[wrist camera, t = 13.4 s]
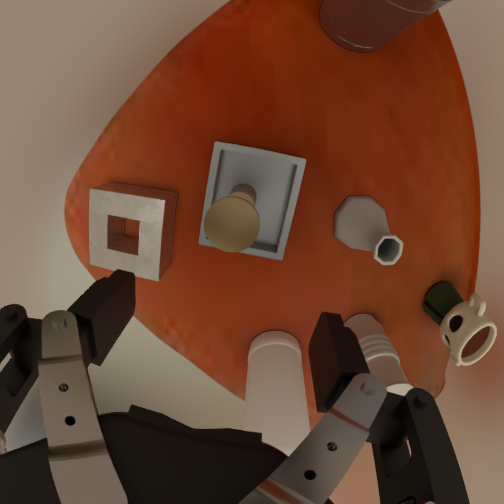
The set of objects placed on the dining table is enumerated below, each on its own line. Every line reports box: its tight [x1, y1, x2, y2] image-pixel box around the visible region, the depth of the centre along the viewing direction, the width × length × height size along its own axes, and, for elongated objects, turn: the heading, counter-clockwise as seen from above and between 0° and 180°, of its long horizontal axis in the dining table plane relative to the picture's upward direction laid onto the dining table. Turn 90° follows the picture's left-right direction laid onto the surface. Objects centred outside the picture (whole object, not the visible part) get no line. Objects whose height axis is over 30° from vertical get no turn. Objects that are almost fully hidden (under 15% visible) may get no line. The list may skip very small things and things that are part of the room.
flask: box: [334, 196, 403, 265], centre depth 30 cm, size 7×7×10 cm
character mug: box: [424, 283, 497, 366], centre depth 32 cm, size 11×7×13 cm, turn 2°
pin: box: [204, 184, 260, 252], centre depth 28 cm, size 4×4×12 cm
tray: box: [198, 141, 306, 261], centre depth 33 cm, size 12×10×3 cm
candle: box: [344, 314, 413, 396], centre depth 34 cm, size 7×7×15 cm
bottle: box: [243, 331, 310, 456], centre depth 28 cm, size 8×8×30 cm
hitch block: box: [89, 182, 178, 282], centre depth 33 cm, size 10×10×5 cm
